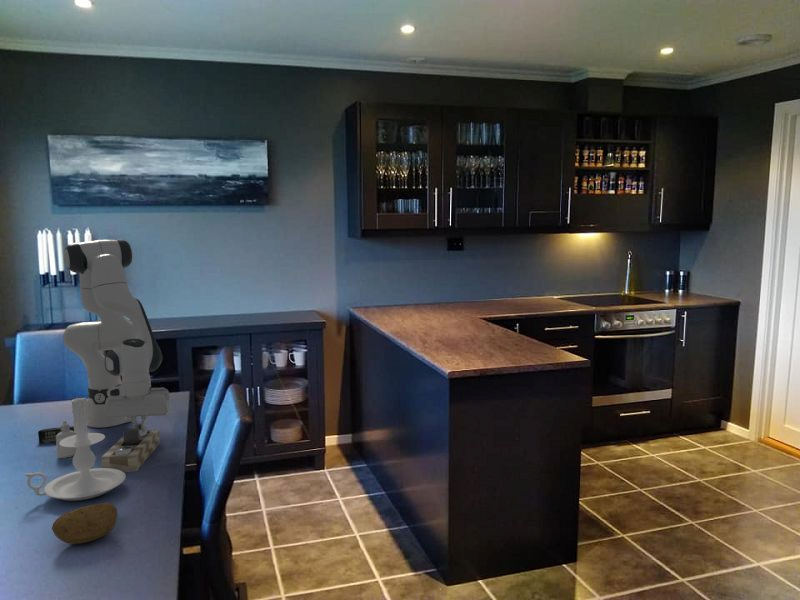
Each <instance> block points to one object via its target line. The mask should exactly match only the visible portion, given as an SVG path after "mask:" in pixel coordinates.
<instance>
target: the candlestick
mask: <svg viewBox="0 0 800 600" xmlns="http://www.w3.org/2000/svg"><path fill="white" fill-rule="evenodd" d="M87 400H88V398H87V397H79V398H78V397H76V398H73V399H72V400H71V411H72V412H71V414H72V418H73V426H74V433H76V435H73V436H70V437H67V438H65V439H63V440H61V441H60V443H59V444H60V445H61V446H64V447H75V448H76V453H75V455H74V456H72V465H73V467H74V468H75V469H76V470H77V471H73V472H70V473H66V474H63V475H61V476H59V477H56V478H55V479H54V478H53V480H51V481H49V482H47V476H46V474H45V473H42V472H40V471H38V472H37V471H36V472H33V473H29V472H28V473H24V476H25V477H27V481H26V482H27V486H28V488H30V489H31V490H33V491H34V492H35V495H37V496H47V497H50V498H53V499H58V500H63V501H74V502H75V501H83V500H90V499H94V498H96V497H100V496H102V495H105V494H107V493H109V492H110V491H112V490H113V489H114V488H116V487H119V485H121V484H123V483H124V482H125V480H126V472H122V471H120V470H117V469H112V468H102V467H98V468H97V467H96V468H95V467H94V464H95V461H96V455H95V453H94V452H93V450H92V449H91V446H92V445H95V444H97V443H100V442H102V441H103V440H104V439H105V438H106V436H105V434H103V433H99V432H88V426H87V422H88V415H87ZM93 467H94V468H93ZM36 476H40V477H42V478H43V482H42V483H41V484H40V485H36V486H35V485H32V483H31V479H33V478H34V477H36ZM46 483H47V484H46ZM42 488H43V492H39V490H41V489H42Z"/></svg>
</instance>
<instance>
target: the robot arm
mask: <svg viewBox="0 0 800 600" xmlns="http://www.w3.org/2000/svg"><path fill="white" fill-rule="evenodd" d="M133 258H134V257H133V249H132V247H131V244H130V243H129V242H128V241H127V240H124V239H118V238H116V239H97V240H91V241H90V240H89V241H83V242H73V243H70V244H68V245H66V246H65V249H64V253H63V261H64V263H65V265H66V267H67V269H68V270H69V271H71V272H72V273H77V274H79V287H80V289H79V290H80V299H81V306H82V307H83V309H84V310H85V311H87V312H88V313H90V314H93V315H96V316H97V317H98V318H99V319H100V321H82V322H76V323H72V324H70V325H68V326H67V327H66V328H65V330H64V332H63V334H62V340H63V343H64V345H65V347H66V348H67V349H68V350H70V352H73V353H74V354H75V355H77V356H78V357H79V359H80V360H81V361H82V363H83V364H84V366H85V369H86V373H87V379H88V387H87V395H88V396H87V397H88V398H87V415H88V422H87V427H89V428H108V427H109V428H111V427H114V426H119V425H122V424H126V423H130V422H131V423H132V424H133V428H135V429H144V426H145V422H146V421H147V418H148V417H154V416H155V417H156V416H166V415H168V414H169V413H170V411H171V405H170V400H169V399H170V391H169V390H168V389H167V388H165V387H163V386H161V387H160V386H159V387H152V384H151V383H152V382H151V376H150V372H155V371H156V370H158V369H159V367H160V365H161V364H162V362H163V354H162V350H161V348H160V346H159V344H158V342H157V340H156V338H155V335H154V332H153V330H152V327H151V325H150V321H149V318H148V316H147V313H146V311H145V309H144V306H143V304H142V302H141V301H140V300H139V299H138V298H136V297H135V296H134V295H133V294H132V293H131V291H130V289H129V286H128V280H127V277H126V273H125V270H124V269H125V268H128V267H129V266H130V265H131V264H132V261H133ZM103 351H107V352H106V354H105V355H104V354H103V353H102V352H103ZM137 417H140V419H141V420H142V421H141V422H138V421H137V420H136V418H137Z"/></svg>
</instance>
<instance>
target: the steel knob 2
mask: <svg viewBox="0 0 800 600" xmlns="http://www.w3.org/2000/svg"><path fill="white" fill-rule="evenodd" d="M132 429H134V427H133V428H132ZM147 430H148V427H147V426H145V425H144V429H139V437H146V436H147Z"/></svg>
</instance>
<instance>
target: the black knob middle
mask: <svg viewBox="0 0 800 600" xmlns="http://www.w3.org/2000/svg"><path fill="white" fill-rule="evenodd" d="M133 428H134V427H133ZM133 428H128V429H124V430H123V432H122V435H123V436H124V446H135V445H138V444H139V429H135V428H134V429H133ZM123 436H122V437H123Z"/></svg>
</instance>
